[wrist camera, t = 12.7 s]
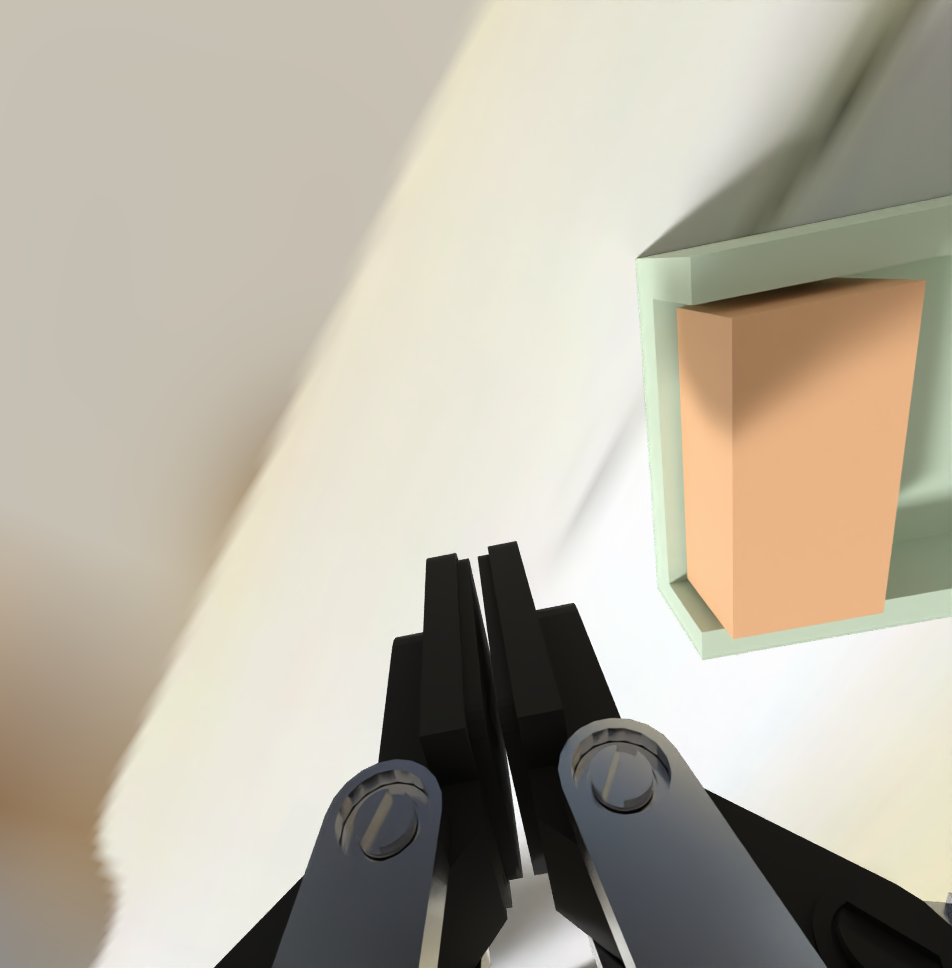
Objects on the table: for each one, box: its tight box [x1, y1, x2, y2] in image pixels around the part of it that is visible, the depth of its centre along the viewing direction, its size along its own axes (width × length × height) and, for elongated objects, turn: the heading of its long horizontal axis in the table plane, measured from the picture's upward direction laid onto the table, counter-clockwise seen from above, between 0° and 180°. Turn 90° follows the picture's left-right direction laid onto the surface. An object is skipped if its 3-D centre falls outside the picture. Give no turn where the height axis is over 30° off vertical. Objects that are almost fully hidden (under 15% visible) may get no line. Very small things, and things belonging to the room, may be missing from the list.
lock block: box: [677, 277, 926, 639], centre depth 14 cm, size 4×8×3 cm, turn 10°
